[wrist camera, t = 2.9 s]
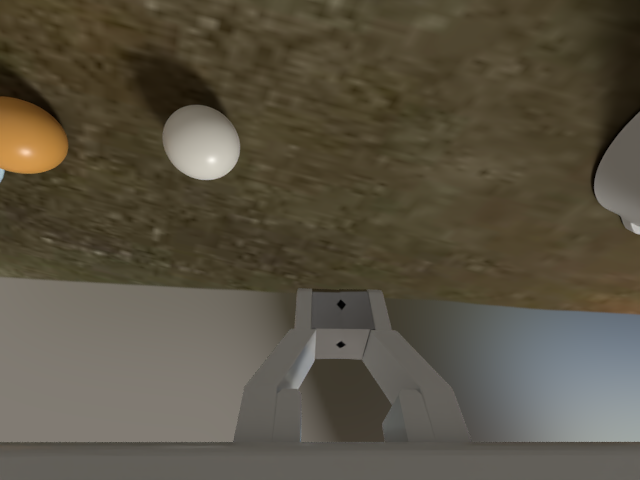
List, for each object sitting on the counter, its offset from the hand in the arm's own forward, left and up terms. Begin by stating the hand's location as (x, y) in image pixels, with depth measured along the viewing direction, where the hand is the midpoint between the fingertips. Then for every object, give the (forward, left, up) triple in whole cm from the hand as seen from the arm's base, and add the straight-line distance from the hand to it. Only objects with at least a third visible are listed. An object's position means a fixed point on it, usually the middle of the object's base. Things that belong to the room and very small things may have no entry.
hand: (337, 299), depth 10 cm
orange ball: (+23, -6, -15) cm, 28 cm away
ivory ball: (+9, -2, -15) cm, 18 cm away
